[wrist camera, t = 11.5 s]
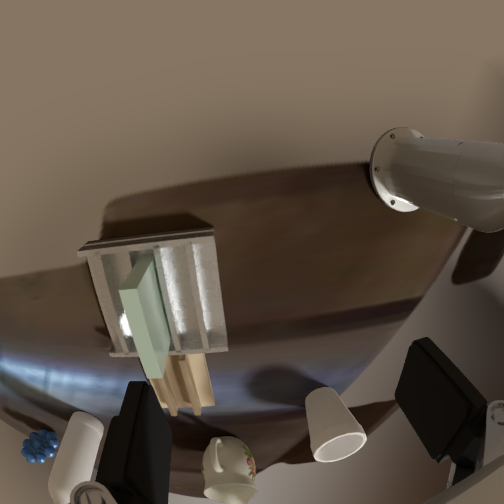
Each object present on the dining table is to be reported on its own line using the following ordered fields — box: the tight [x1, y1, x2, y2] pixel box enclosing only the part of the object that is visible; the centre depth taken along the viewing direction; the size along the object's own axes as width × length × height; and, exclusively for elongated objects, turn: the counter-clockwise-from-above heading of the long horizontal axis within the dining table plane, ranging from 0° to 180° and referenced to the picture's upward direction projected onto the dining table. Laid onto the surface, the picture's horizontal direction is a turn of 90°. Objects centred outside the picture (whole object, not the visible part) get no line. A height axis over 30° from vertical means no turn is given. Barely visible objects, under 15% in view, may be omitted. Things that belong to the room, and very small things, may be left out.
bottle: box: [48, 411, 104, 504], centre depth 34 cm, size 8×8×30 cm
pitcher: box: [202, 436, 258, 504], centre depth 47 cm, size 11×18×14 cm, turn 14°
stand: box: [149, 353, 215, 416], centre depth 43 cm, size 10×14×4 cm
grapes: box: [21, 429, 59, 463], centre depth 44 cm, size 12×7×12 cm, turn 95°
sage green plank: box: [119, 255, 172, 379], centre depth 34 cm, size 2×12×10 cm, turn 4°
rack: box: [77, 227, 228, 357], centre depth 38 cm, size 18×17×4 cm
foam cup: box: [305, 387, 367, 462], centre depth 45 cm, size 10×9×13 cm
